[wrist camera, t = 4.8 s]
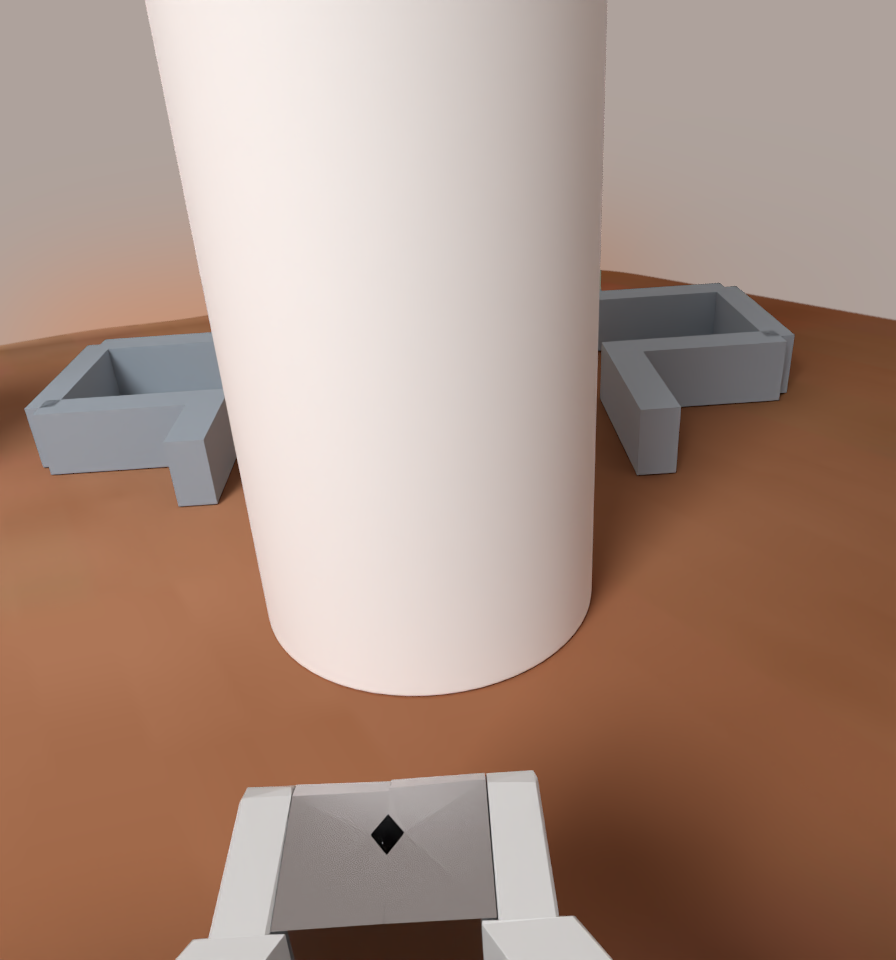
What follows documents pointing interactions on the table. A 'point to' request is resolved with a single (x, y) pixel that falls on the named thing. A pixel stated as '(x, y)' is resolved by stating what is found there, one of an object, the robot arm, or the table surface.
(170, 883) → the table surface
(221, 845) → the table surface
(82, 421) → the box
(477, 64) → the cup
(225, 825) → the table surface
